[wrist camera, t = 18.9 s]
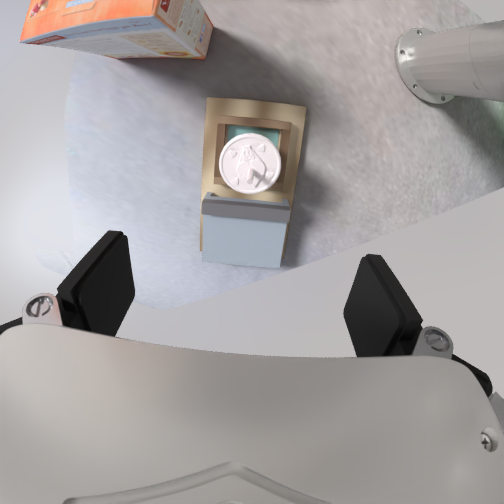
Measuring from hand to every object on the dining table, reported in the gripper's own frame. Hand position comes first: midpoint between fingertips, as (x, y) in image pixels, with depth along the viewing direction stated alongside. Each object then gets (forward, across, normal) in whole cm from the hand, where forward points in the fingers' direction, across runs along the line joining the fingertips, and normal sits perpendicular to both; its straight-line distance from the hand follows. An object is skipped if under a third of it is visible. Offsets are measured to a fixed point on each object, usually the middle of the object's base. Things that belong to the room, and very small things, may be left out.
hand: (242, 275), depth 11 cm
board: (+30, 0, +4) cm, 31 cm away
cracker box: (+31, +14, -16) cm, 37 cm away
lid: (+29, 0, +11) cm, 31 cm away
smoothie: (+29, 0, 0) cm, 29 cm away
